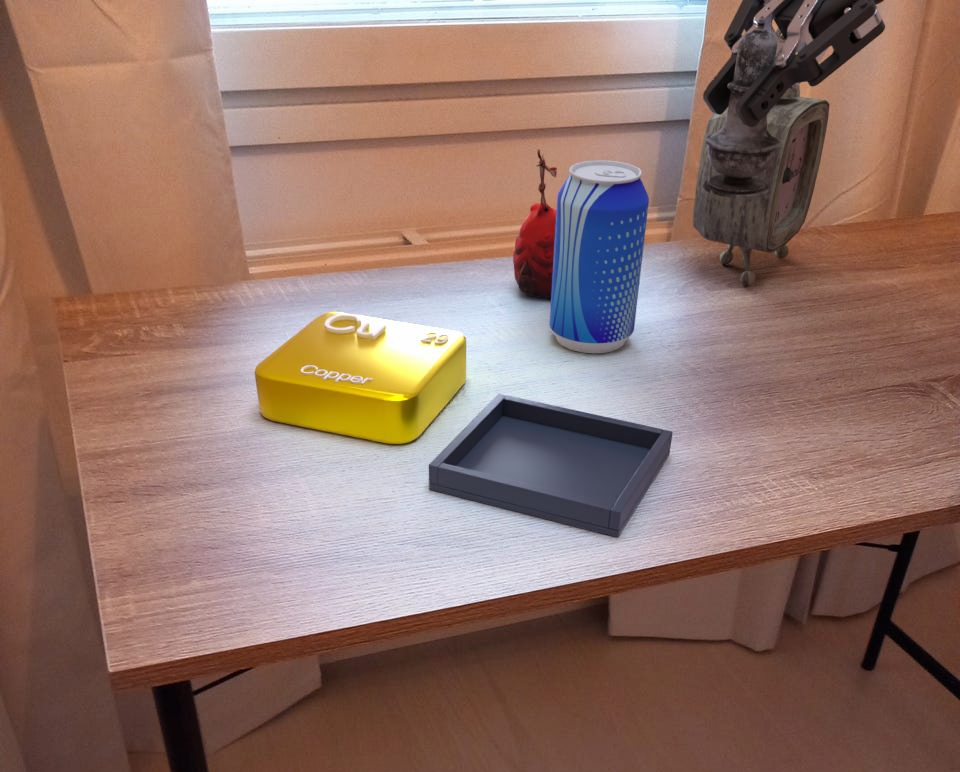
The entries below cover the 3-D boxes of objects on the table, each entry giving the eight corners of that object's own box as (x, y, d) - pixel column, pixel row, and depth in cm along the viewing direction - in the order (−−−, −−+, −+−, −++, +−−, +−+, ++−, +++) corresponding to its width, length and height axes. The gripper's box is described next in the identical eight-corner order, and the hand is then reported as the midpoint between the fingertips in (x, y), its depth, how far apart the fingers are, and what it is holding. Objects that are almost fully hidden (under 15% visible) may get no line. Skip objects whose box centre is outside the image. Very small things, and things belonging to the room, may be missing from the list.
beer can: (591, 364, 98) (607, 189, 88) (531, 336, 103) (539, 167, 93) (649, 341, 102) (671, 172, 92) (589, 315, 107) (603, 152, 97)
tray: (669, 454, 85) (673, 431, 83) (617, 537, 75) (620, 512, 74) (497, 416, 90) (498, 393, 88) (428, 489, 80) (428, 464, 79)
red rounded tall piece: (590, 290, 113) (603, 144, 103) (551, 308, 108) (561, 158, 99) (536, 273, 116) (543, 130, 107) (497, 290, 112) (500, 143, 103)
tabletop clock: (754, 295, 112) (804, 34, 96) (679, 278, 116) (714, 24, 100) (799, 257, 122) (851, 14, 106) (728, 242, 125) (768, 5, 109)
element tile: (251, 418, 89) (243, 366, 86) (329, 351, 99) (325, 303, 96) (410, 450, 85) (408, 397, 82) (472, 376, 96) (473, 327, 93)
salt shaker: (684, 182, 84) (706, 12, 76) (745, 174, 85) (772, 7, 78) (725, 202, 79) (751, 25, 72) (787, 194, 81) (820, 19, 74)
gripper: (805, -138, 77) (650, 59, 80) (946, -127, 67) (761, 97, 71) (844, -56, 82) (697, 125, 86) (980, -34, 72) (806, 169, 76)
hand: (727, 111), depth 78 cm, fingers closed on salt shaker, 3 cm apart
